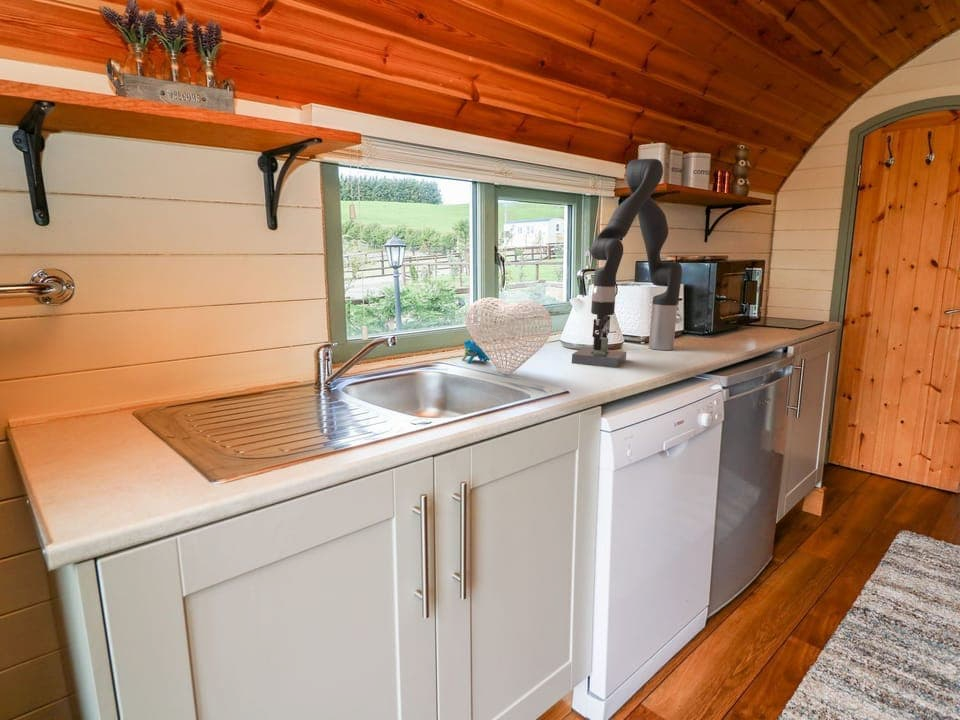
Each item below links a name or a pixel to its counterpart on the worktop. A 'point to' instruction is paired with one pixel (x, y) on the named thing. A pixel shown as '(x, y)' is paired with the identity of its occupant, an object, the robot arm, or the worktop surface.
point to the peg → (602, 347)
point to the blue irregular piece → (474, 351)
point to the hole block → (599, 358)
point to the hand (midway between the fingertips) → (600, 348)
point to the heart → (508, 330)
